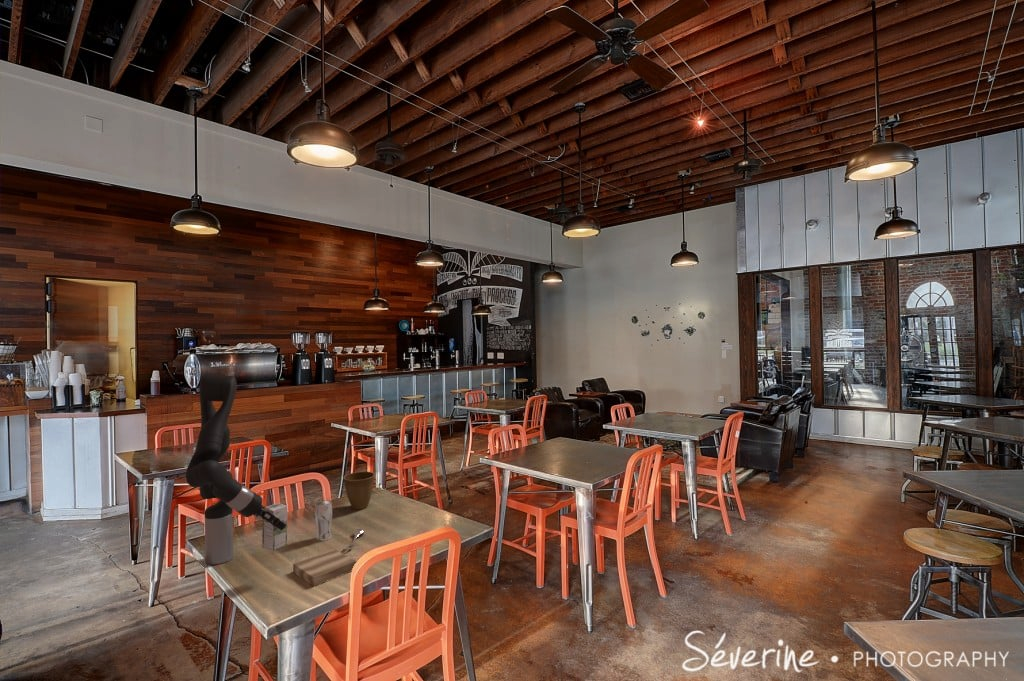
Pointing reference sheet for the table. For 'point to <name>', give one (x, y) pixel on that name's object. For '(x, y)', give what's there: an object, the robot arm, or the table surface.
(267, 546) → the syrup box
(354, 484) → the plant pot
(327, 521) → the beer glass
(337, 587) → the table surface
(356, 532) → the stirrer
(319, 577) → the maple board
